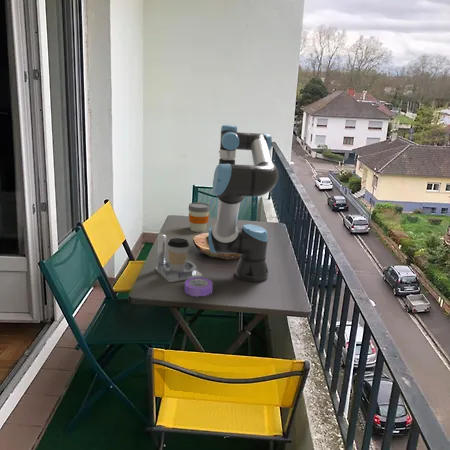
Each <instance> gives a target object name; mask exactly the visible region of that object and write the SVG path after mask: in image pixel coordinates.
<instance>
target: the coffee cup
mask: <svg viewBox="0 0 450 450" xmlns="http://www.w3.org/2000/svg"><path fill="white" fill-rule="evenodd" d="M167 245H168V261H169V262H170V270H171V271H177V272H182V271H184V266H185V262H186V261H187V256H188V249H189V247H190V244H189V242H188V240H187V239H186V238H181V237H180V238H179V237H174V238H170V239H169V241H168V242H167Z"/></svg>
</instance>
